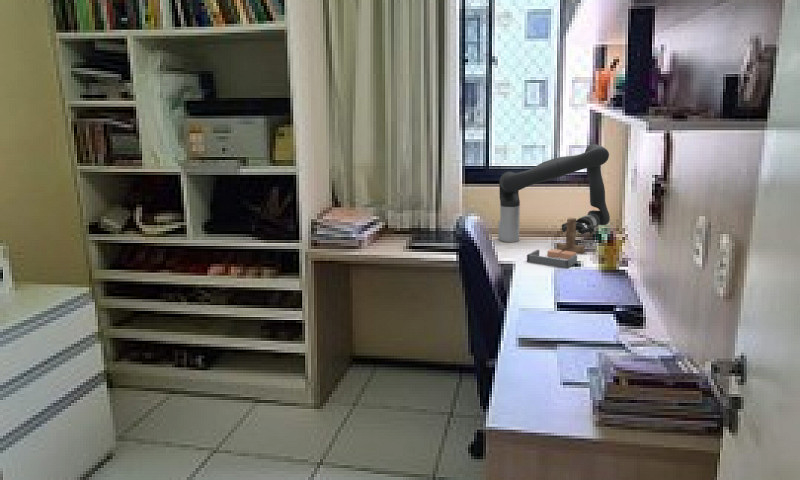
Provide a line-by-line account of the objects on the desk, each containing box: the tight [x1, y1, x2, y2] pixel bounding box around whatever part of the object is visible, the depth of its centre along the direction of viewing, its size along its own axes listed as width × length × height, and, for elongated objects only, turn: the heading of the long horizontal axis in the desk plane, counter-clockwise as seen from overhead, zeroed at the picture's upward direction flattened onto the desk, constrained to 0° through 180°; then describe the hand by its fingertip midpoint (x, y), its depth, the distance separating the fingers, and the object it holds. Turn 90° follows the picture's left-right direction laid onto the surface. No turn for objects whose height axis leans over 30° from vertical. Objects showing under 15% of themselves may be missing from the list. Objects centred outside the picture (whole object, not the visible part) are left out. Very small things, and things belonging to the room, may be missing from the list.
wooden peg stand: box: [555, 217, 586, 255], centre depth 259 cm, size 12×3×15 cm, turn 52°
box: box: [526, 249, 578, 269], centre depth 246 cm, size 18×10×3 cm, turn 52°
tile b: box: [559, 251, 577, 260], centre depth 252 cm, size 5×5×2 cm
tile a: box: [546, 248, 563, 259], centre depth 255 cm, size 5×5×2 cm
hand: (572, 231), depth 260 cm, fingers open, 8 cm apart
